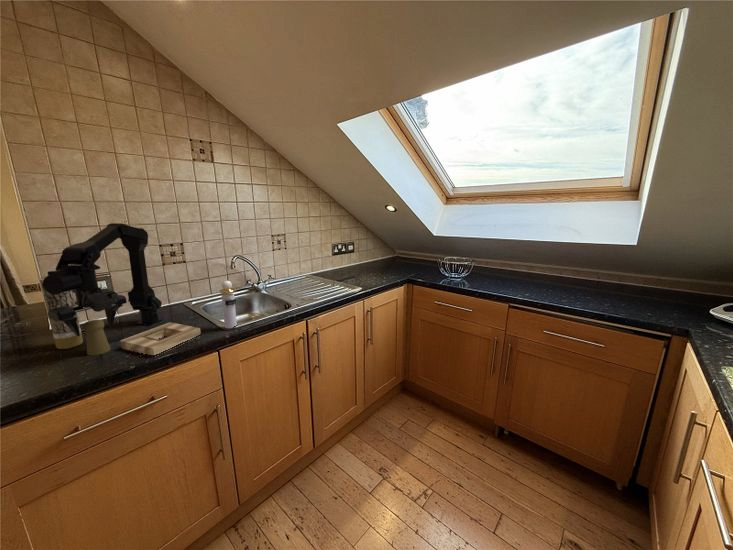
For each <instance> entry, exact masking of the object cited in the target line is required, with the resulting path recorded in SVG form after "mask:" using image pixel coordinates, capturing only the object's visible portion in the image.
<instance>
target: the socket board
mask: <svg viewBox="0 0 733 550" xmlns="http://www.w3.org/2000/svg"><path fill="white" fill-rule="evenodd" d="M201 333H202V332H201V328H200V327H195V326H190V325H186V324H180V323H176V322H175V323H174V322H167V323H165V324H162V325H158V326H156V327H154V328H153V327H152V328H151V329H149V330H146V331H143V332H140V333H137V334H134V335H132V336H129V337H126V338H124V339H120V346H121V349H123V350H126V351H129V350H130V351H129V352H133V351H134V353H137V352H138V353H137V354H141V353H143V354H142V355H145V354H148V355H147V356H149V355H156V354H159V353H161V352H163V351H165V350H168V349H170V348H172V347H174V346H176V345H178V344H180V343H182V342H185V341H187V340H190V339H192V338H194V337H196V336H198V335H200V334H201ZM201 335H202V334H201ZM164 336H165V337H164ZM159 338H160V339H159ZM194 339H195V338H194ZM192 340H193V339H192ZM190 341H191V340H190ZM170 350H171V349H170ZM168 351H169V350H168Z"/></svg>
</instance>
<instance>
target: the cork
mask: <svg viewBox="0 0 733 550" xmlns="http://www.w3.org/2000/svg"><path fill="white" fill-rule="evenodd" d="M82 327H83V330H84V332H86V355H87V356H98V355H103V354H106V353H107V352H109V351H111V345H110V343H109V341H108V339H107V336H106V333H105V331H104V330H105V329H104V328H105V322H104V321H103V320H102V319H99V318H98V319H90V320H89V321H86V322H84V323H83V325H82Z"/></svg>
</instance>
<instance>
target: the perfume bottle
mask: <svg viewBox="0 0 733 550" xmlns="http://www.w3.org/2000/svg"><path fill="white" fill-rule="evenodd" d="M221 287H222V289H220V290H219V293H220V294H221V301H222V303H221V304H222V313H223V314H222V315H223V324H224V328H225V329H233V327H234V326H236V325H237V326H238V324H237V313H236V312H237V311H236V305H237V299H236V298H235V293H234V292H236V288H233V283H232V282H231V281H230V280H224V281H223V282H222V283H221ZM237 326H236V327H237ZM234 328H235V327H234Z"/></svg>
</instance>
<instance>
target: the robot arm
mask: <svg viewBox="0 0 733 550" xmlns="http://www.w3.org/2000/svg"><path fill="white" fill-rule="evenodd" d="M118 239H120V241H121V244H122V246H123V247H124V248H125V250H126V251H127V253H128V258H129V265H130V273H131V280H132V288H131V289H130V291H127V296H128V299H127V297H126V296H125V295H124V294H118V293H117V292H115V291H112V292H107V293H104V292H103V289H102V288H101V287H99V282H98V278H97V273H96V270H100V269H101V266H99V265H97V264H96V262H97V261H98V260H99V259H100V258H101V252H102V251H104V250H105V249H106V248H107V247H108V246H110V245H111V244H112V243H113V242H115V241H116V240H118ZM148 244H149V233H148V232H147V230H145V229H144V228H141V227H134V226H131V225H127V224H126V223H121V222H120V223H119V222H116V223H115V222H114V223H113V222H110V223H109V224H107V225H106V227H105V228H103V229H101V230H100V231H98V232H97V233H96V234H95V235H93V236H91V237H90V238H88V239H87V240H84V241H83V242H77V243H74V244H72V245H69V246H67V247H65V248H64V249H63V250H62V252H61V255H60V258H59V260H58V262H57V265H56V266H55V269H54V270H50V271H47V275H46V276H47V277H45V279H44V280H43V283H42V284H43V287H44V289H45V290H46V291H47V292H48V293H50V294H54V295H57V294H61V293H64V292H67V291H71V290H72V292H73V294H75V295H74V296H75V299H76V300H75V306H76V307H72V308H71V307H66V306H62V307H58V308H54V309H50V310H49V312H48V311H47V315H48V316H47V317H48V319H54V320H58V321H62V322H63V323H65V324H66V325H67V326H68V327H69V328H70V329H71V330H72V331H73V333H74V334H75V335H76V336H80V332H79V328H78V325H77V317H74V316H75V315H76V313H77V314H78V313H80V312H84V311H87V310H93V312H98V313H100V312H102V311H104V313H105V317H106V320H107V321H106V322H107V324H108V325H109V326H110V327H111V326H113V324H114V322H115V321H114V320H115V317H116V313H117V311H118V309H120V308H121V307H123V306H124V305H125V304H127V303H128V302H129V304H130V306H131V308H132V309H133V311H139V317H140V319H139V320H140V321H137V322H136V324H138V325H143V326H150V325H153V324H156V323H158V322H161V321H163V319H161V318H159V313H158V310H159V309H160V308H161V307H162V301H161V300H160V299H159V298H158V297H157V296H156V294H155V290H154V289H153V288H152V287H151V286H150V284H149V278H148V277H149V276H148V269H147V263H146V256H145V250H146V247H147V246H148ZM127 300H128V301H127Z"/></svg>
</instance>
